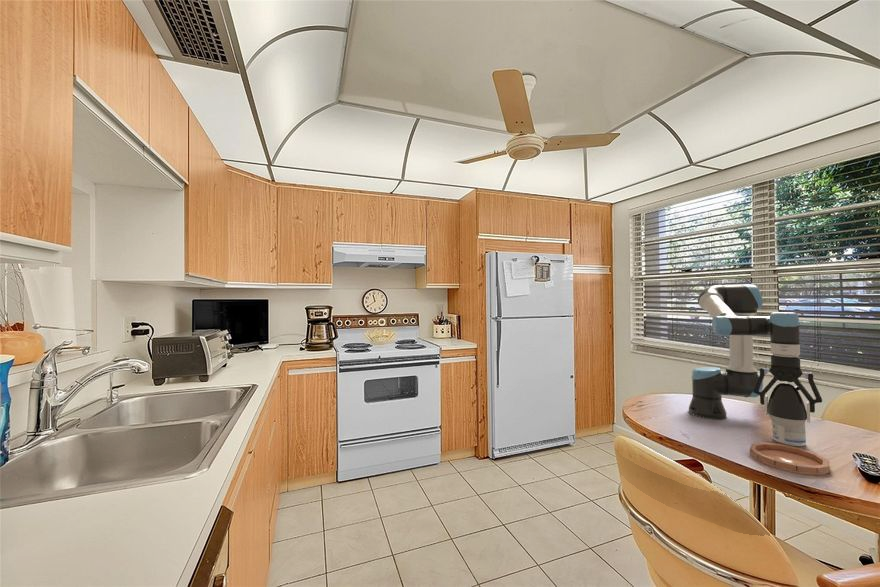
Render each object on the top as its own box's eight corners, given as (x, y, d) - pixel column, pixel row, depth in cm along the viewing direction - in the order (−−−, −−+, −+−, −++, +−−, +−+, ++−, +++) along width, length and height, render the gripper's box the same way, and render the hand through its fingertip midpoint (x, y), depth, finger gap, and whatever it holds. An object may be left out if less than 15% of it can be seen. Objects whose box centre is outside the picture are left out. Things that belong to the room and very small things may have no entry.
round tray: (754, 444, 140) (754, 438, 140) (829, 461, 125) (829, 454, 125) (746, 460, 126) (746, 453, 126) (829, 481, 112) (829, 473, 112)
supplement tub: (810, 444, 139) (809, 407, 140) (799, 449, 135) (798, 410, 136) (779, 436, 148) (778, 401, 148) (767, 440, 144) (766, 404, 144)
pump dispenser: (816, 431, 120) (815, 386, 120) (781, 429, 122) (779, 385, 122) (793, 421, 130) (792, 380, 130) (760, 419, 132) (759, 379, 132)
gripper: (742, 353, 132) (743, 412, 132) (832, 360, 115) (834, 428, 115) (745, 351, 137) (746, 408, 137) (832, 357, 120) (834, 422, 120)
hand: (786, 417), depth 126 cm, fingers closed on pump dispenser, 10 cm apart
